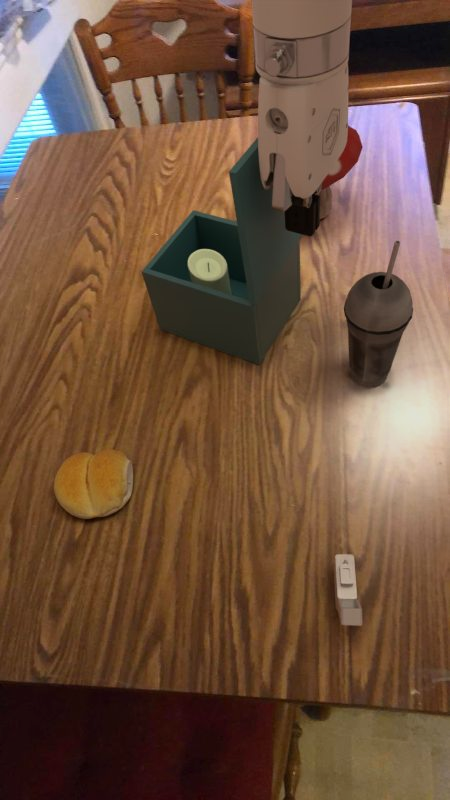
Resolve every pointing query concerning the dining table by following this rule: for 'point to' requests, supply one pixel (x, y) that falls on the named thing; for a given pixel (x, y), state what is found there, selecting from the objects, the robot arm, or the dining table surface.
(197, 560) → the dining table surface
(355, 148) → the decorative mushroom
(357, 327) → the beverage cup
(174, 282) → the chest
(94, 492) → the bread roll
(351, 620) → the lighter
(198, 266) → the candle
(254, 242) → the lid
